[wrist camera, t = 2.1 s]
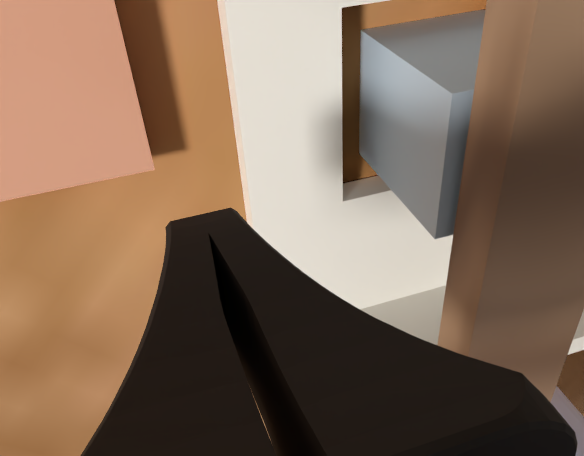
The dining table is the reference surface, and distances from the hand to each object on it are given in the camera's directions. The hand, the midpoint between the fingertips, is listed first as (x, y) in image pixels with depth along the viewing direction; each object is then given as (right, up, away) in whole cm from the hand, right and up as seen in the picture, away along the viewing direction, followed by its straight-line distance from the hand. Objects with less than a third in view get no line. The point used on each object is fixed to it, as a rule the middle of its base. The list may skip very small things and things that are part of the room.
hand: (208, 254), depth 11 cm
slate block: (+6, +5, +6) cm, 10 cm away
